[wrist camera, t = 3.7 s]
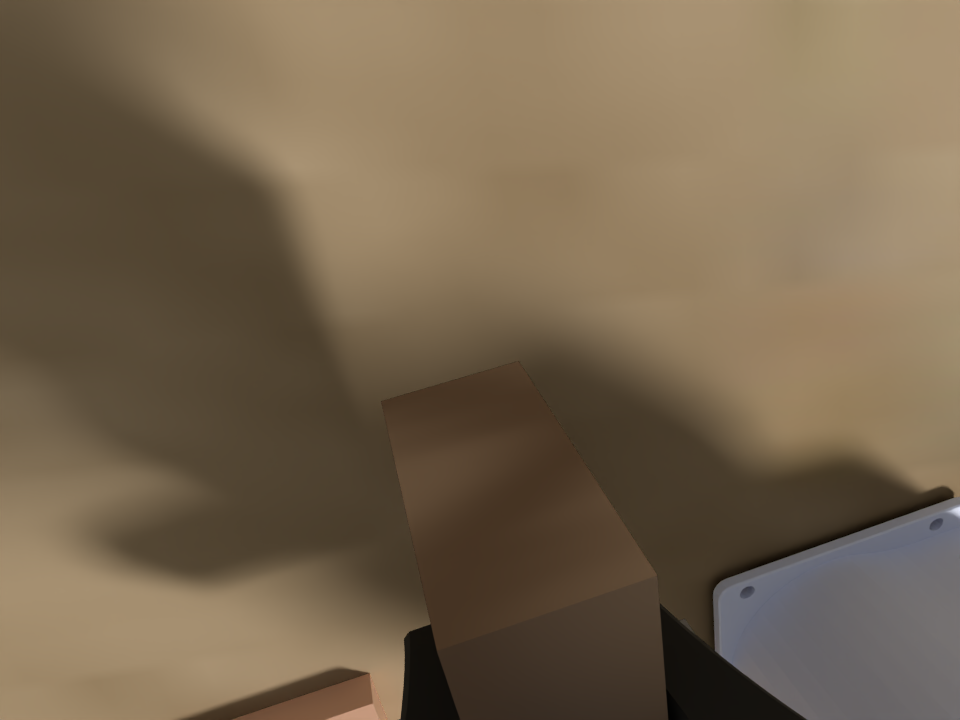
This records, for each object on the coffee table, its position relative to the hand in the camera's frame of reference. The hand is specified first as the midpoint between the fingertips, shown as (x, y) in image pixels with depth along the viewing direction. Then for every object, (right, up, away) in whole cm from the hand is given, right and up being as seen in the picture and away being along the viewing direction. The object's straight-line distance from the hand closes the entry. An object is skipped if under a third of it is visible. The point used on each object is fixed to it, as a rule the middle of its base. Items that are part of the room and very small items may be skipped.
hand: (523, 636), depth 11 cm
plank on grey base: (-1, +1, +2) cm, 2 cm away
